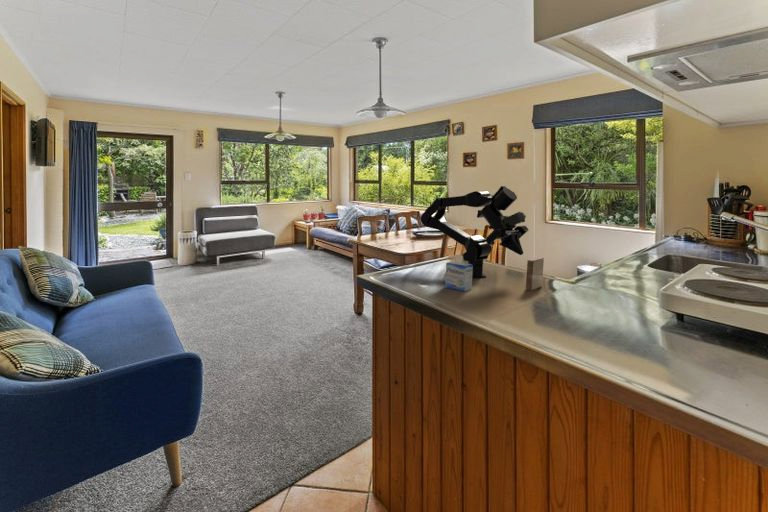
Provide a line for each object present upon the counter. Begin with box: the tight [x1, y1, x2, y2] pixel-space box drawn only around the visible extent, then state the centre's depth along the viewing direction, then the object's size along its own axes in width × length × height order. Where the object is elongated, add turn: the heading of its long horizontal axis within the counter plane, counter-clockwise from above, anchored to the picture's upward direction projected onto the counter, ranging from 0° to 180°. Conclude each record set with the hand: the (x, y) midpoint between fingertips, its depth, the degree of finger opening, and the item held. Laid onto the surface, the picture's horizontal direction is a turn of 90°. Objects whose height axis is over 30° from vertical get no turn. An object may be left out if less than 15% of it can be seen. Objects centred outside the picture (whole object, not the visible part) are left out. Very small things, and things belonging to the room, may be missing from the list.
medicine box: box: [444, 261, 473, 292], centre depth 137 cm, size 8×4×9 cm, turn 47°
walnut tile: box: [525, 256, 545, 291], centre depth 136 cm, size 2×7×10 cm, turn 132°
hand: (522, 254), depth 139 cm, fingers closed
